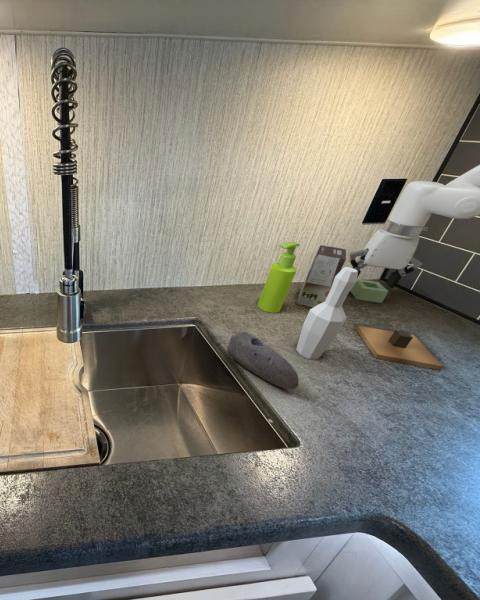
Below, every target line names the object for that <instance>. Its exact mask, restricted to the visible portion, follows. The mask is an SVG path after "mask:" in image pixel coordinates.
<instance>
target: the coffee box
mask: <svg viewBox="0 0 480 600" xmlns="http://www.w3.org/2000/svg"><path fill="white" fill-rule="evenodd" d="M346 261H347V249H345V248H341V247H335V246H329V245H322V244H320V245H319V247H318V249H317V251H316V254H315V256H314V258H313V261H312V263H311V265H310V268H309V270H308V272H307V275H306V277H305V279H304V281H303V284H302V286H301V289H300V292H299V294H298V298H297V302H296V303H297V304H298V305H301V306H305V307H309V308H311V309H312V308H313V307H315V306H317V305H319V304H321V303H323V302H325V300H326V298H327V296H328V294H329V292H330V290H331V287H332V284H333V282H334V279H335V276H336V275H337V274H338V273H339V272H340V271H341V270H342V269H343V268H344V267H343V266H344V264H345V262H346Z"/></svg>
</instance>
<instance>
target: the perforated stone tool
mask: <svg viewBox="0 0 480 600" xmlns="http://www.w3.org/2000/svg"><path fill="white" fill-rule="evenodd" d="M230 336H231V337H230V339H229V342H228V344H227V349H226V350H227V354H228V355H229V356H230V357H231V358H232V359H233V360H235V361H236V362H237V363H238V364H239V365H240V366H241V367H243V368H244V369H246V370H248V371H250V372H251V373H253V374H254V375H256V376H258V377H260V378H261V379H263V380H265V381H267V382H268V383H270V384H272V385H274V386H276V387H280V388H282V389H286V390H294V389H297V388H298V387H299V386H300V385H299V374H298V372H297V371H296V370H295V368H294V367H293V366H292V364H291V363H290V362H288V360H287V359H286V358H284V357H283V356H282V355H281V354H280V353H278V352H277V351H276V350H275V349H274V348H272V347H271V346H270V345H268V344H267V343H265V342H264V341H262V339H259V338H258V337H256V336H254V335H252V334H250V333H249V332H247V331H243V332H237V333H236V334H235V333H234V334H232V335H230Z"/></svg>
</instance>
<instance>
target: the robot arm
mask: <svg viewBox="0 0 480 600" xmlns="http://www.w3.org/2000/svg"><path fill="white" fill-rule="evenodd" d="M432 214H435V215H438V216H442V217H446V218H449V219H453V220H454V219H455V220H467V219H468V220H469V219H472V218H476V217H478V216H480V164H478V165H476V166H475V167H473V168H471V169H469V170H468V171H466V172H464V173H463V174H461V175H459V176H458V177H456V178H454V179H453V180H451V181H449V182H448V183H447V184H443V183H440V182H436V181H430V180H429V181H428V180H414V181H411V182H409V183H408V184H407V185H406V186H405V188H404V190H403V191H402V193H401V195H400V197H399V199H398V200H397V202H396V204H395V206H394V208H393V209H392V211H391V212H390V215H389V217H388V218H387V220H386V222H385V224H384V226H383V227H382V229H377V230H376V232H375V233H374V234H373V235H372V236H371V238H370V239H369V240H368V241H367V242H366V244H365V246H364V247H363V249H361V250H356V251H351V252H349V253H348V262H349V263H350V265H351V266H352V268H353V269H356V270H357V271H358V275H357V279H358V278H359V276H360V274H361V272H362V270H361V269H364V268H365V267H374V268H382V269H390V270H394V271H392V272H391V274H390V275H389V277H388V278H387V280H386V282H385V284H386V285H387V286H388V287H389V288H390V289H394V288H395V286H396V285H398V283H399V282H400V280H401V278H403V277H405V276H406V275H407V274H410V273H413V272H414V271H415V270H417V269H418V268H419V267H421V266H423V263H422V262H421V261H419V259H417V258H415V257H414V255H415V252H416V250H417V249H418V248H417V247H418V245H419V242H420V238H421V237H420V235H421V234H422V233H427V232H428V230H429V226H426V224H427V222H428V221H429V219H430V218H431V216H432ZM356 258H359V260H356ZM409 263H411V264H409Z"/></svg>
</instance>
